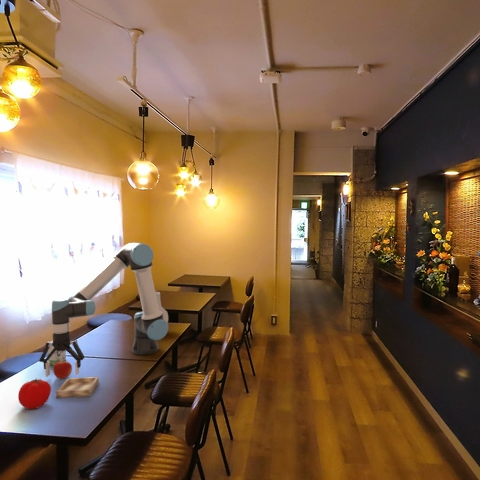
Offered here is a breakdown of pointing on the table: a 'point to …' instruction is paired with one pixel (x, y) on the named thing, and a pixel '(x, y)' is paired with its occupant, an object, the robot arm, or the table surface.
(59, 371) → the apple
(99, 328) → the table surface
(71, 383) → the tray
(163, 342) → the table surface
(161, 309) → the vase
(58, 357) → the ink box
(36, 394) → the tomato
